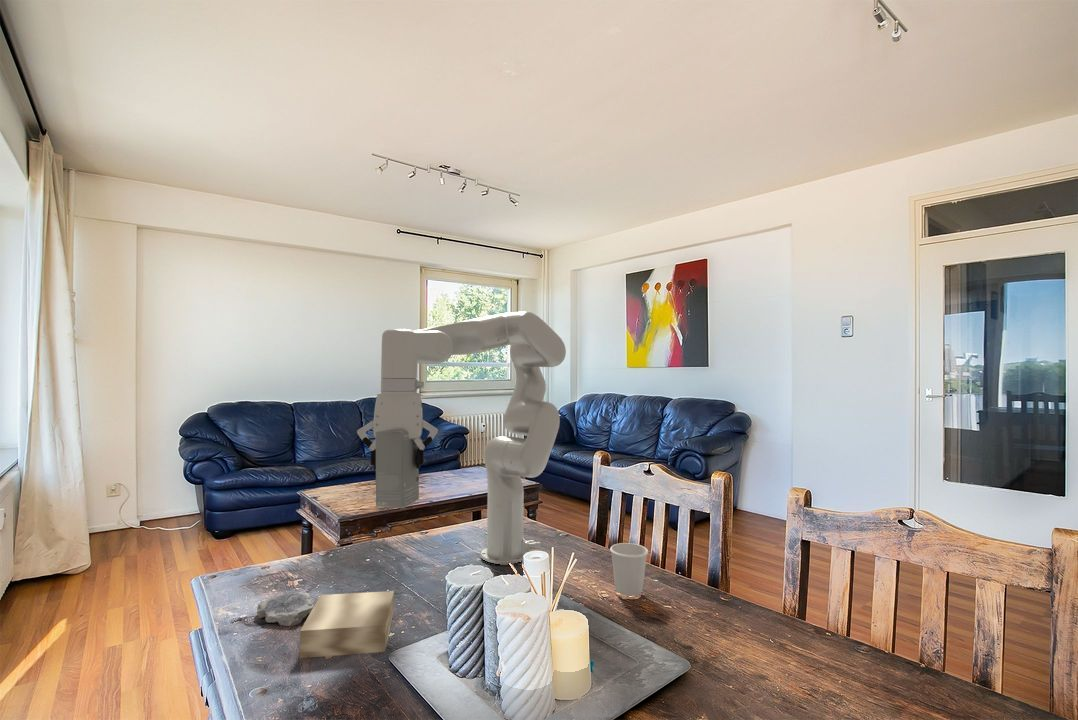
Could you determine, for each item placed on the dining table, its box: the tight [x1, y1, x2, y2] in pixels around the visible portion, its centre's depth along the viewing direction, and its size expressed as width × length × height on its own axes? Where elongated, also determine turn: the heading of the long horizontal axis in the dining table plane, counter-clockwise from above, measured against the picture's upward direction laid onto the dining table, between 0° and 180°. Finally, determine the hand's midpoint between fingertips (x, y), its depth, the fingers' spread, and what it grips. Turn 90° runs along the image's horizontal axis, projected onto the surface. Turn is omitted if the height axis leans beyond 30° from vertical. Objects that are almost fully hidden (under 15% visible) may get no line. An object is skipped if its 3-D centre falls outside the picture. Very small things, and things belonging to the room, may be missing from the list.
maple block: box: [299, 590, 395, 659], centre depth 96 cm, size 14×14×5 cm
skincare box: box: [375, 431, 420, 509], centre depth 112 cm, size 8×7×16 cm
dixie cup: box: [609, 542, 649, 596], centre depth 115 cm, size 8×8×10 cm
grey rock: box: [256, 591, 315, 627], centre depth 104 cm, size 11×4×10 cm
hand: (397, 467), depth 112 cm, fingers closed on skincare box, 8 cm apart
